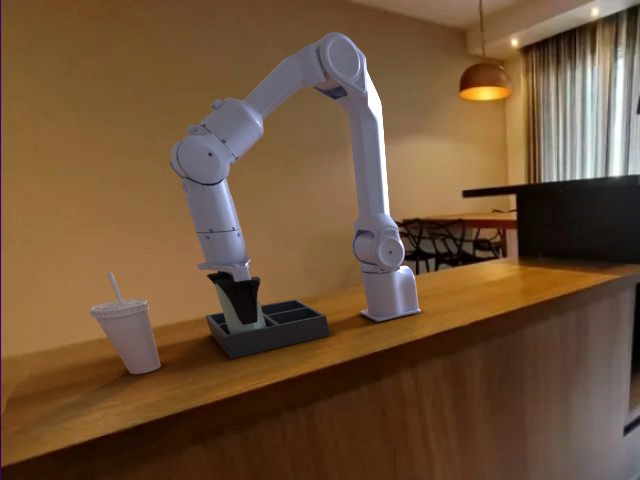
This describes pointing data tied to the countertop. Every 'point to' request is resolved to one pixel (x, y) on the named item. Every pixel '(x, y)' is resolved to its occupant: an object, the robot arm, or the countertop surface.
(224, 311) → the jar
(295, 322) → the tray
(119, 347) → the smoothie
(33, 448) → the countertop surface
